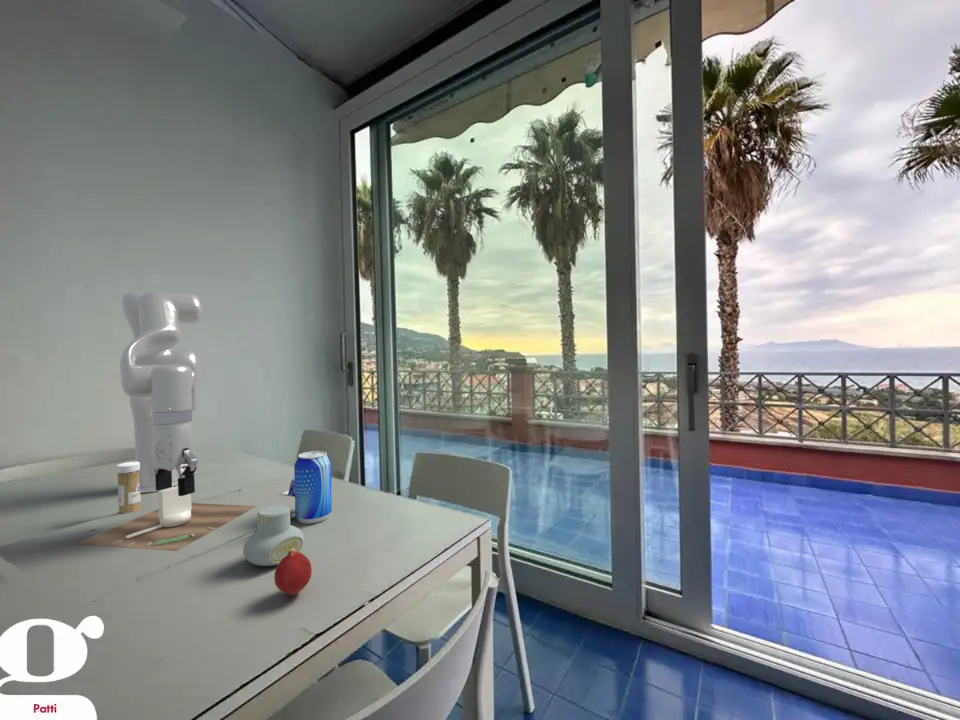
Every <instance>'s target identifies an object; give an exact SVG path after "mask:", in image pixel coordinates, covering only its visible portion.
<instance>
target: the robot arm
mask: <svg viewBox="0 0 960 720" xmlns="http://www.w3.org/2000/svg"><path fill="white" fill-rule="evenodd" d="M121 307H122V311H123V314H124V315H123V316H124V317H125V320H126V321H127V323H128V325H129V327H130V329H131V331H132V334H133V339H132V341H130V342H129V343H128V345H127V346H126V347H125V348H124V349H123V351H122V353H121V356H120V361H119V365H120V366H119V367H120V368H119V369H120V383H121V387H122V388H121V389H122V390H123V392H124V394H126V395H128V396H129V405H130V409H131V413H132V420H133V426H134V427H133V428H134V430H133V431H134V451H135V462H139V463H140V471H139V478H140V494H145V493H146V494H147V493H155V492H158V491H161V490H165V489H168V488H172V487H174V486H175V487H176V486H178V495H179V496H184V495H187V494H191V495H192V494H194V493H195V491H196V490H195V489H196V488H195V485H196V484H195V483H196V482H195V476H196V471H197V464H198V458H197V456H195V443H194V442H195V441H194V436H193V433H194V432H193V428H192V423H193V412H195V411H197V410H198V409H199V407H200V401H201V394H200V393H201V392H200V391H201V390H200V383H201V382H200V363H199V358H198V356H197V354H196V353H195V351H193V350H192V349H186V348H185V349H179V348H178V349H173V347H176V346H177V345H178V344H179V343H180V341H181V339H182V331H181V327H180V326H181V325H180V324H198V323H199V322H200V321H201V319H202V318H203V305H202V302H201V300H200V299H199V297H198V296H197V295H196V294H193V293H186V292H185V293H184V292H173V291H171V292H170V291H169V292H168V291H131V292H126V293H125V294H124V295H123V296H122V298H121Z"/></svg>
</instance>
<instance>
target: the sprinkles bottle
mask: <svg viewBox="0 0 960 720" xmlns="http://www.w3.org/2000/svg"><path fill="white" fill-rule="evenodd" d="M139 471H140V463H139V462H136V461H130V462H129V461H128V462H123V463H119V464H117V465H116V473H117V497H118V499H117V500H118V504H117V505H118V512H119V513H118V514H129V513H133V512H136V511H140V510H141V507H142V506H141V498H142V497H141V493H140V478H139Z"/></svg>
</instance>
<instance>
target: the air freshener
mask: <svg viewBox="0 0 960 720" xmlns="http://www.w3.org/2000/svg"><path fill="white" fill-rule="evenodd" d="M256 515H257V517H256V519H257V524H256V525H257V527H256V528H257V530H256V531H255V532H254V533H252V534H251V535H250V536H249V537H248V538H247V540H246V541H245V543H244V545H243V547H242V549H243V550H242V551H243V552H242V554H243V557H244V558H245V560H247V561H248V562H249V563H251V564H253V565H255V566H258V567H259V566H262V567H270V566H271V567H272V566H278V564H279V563H280V561H281V560H282V559H283V558H284V557H285V556H286V555H288V554H289V553H288V552H289V551H290V550H291V549H295V550H296V551H297V552H299V553H300V551H301V550H302V548H303V546H304V543H305V536H304V534H303V532H302V531H301V529H300V528H298V527H297V526H295V525H291V509H290V507H289V506H288V505H287V504H275V505H269V506H268V505H267V506H266V507H264V508H261V509H260V510H259V511H258V512H257V514H256Z"/></svg>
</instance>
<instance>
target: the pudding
mask: <svg viewBox="0 0 960 720" xmlns="http://www.w3.org/2000/svg"><path fill="white" fill-rule="evenodd" d="M282 495H285V496H290V497H294V498H295V477H293V478H292V480H291V481H290V484H289V489H288V490H287V491H285V492H283V493H282Z"/></svg>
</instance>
